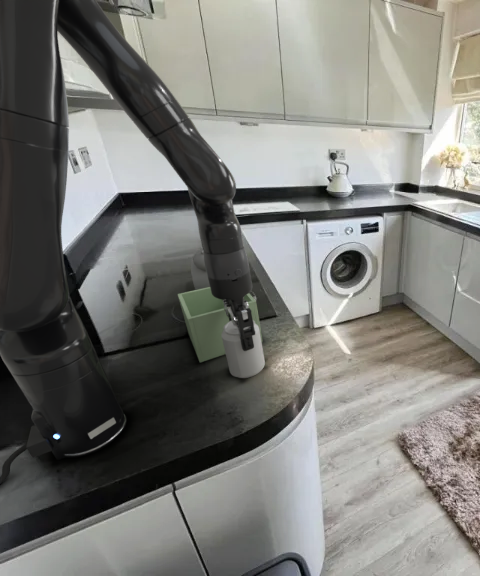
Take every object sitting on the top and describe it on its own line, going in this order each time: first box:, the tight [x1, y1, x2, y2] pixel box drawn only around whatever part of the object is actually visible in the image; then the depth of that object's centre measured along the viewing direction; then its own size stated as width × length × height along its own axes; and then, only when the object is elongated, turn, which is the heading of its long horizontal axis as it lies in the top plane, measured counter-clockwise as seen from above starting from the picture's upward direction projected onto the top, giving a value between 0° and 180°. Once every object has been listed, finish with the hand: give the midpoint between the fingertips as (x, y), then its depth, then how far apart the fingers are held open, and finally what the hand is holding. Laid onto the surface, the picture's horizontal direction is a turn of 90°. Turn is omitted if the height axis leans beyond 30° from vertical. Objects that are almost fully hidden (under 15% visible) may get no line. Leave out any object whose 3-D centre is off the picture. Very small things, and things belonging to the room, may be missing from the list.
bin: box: [177, 287, 264, 363], centre depth 81 cm, size 15×15×12 cm
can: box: [221, 319, 266, 379], centre depth 71 cm, size 8×8×12 cm
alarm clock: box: [190, 247, 210, 290], centre depth 97 cm, size 16×9×22 cm, turn 12°
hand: (242, 339), depth 70 cm, fingers closed on can, 7 cm apart
